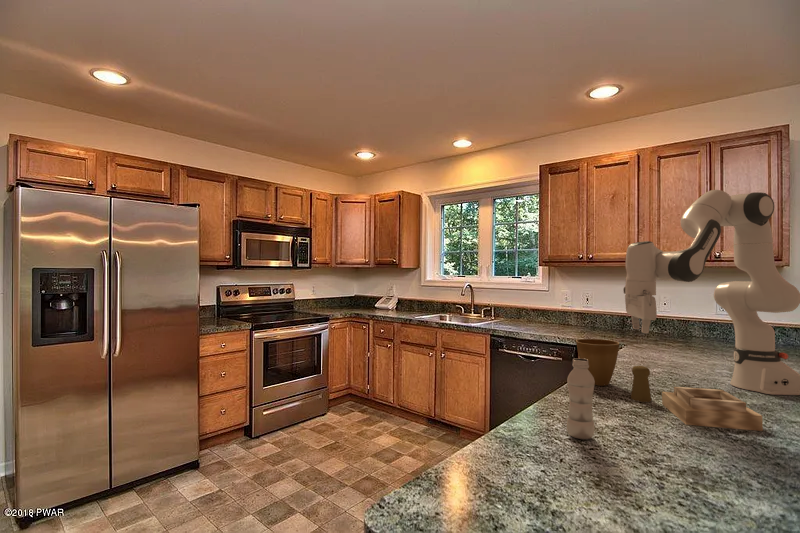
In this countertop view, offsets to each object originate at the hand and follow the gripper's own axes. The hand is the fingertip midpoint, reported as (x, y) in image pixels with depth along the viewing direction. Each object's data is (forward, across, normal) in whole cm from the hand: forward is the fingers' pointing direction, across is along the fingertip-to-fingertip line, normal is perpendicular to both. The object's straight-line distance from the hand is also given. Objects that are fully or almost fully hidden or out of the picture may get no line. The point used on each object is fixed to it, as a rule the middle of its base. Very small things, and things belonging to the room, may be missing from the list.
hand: (640, 330), depth 137 cm
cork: (+23, 0, 0) cm, 23 cm away
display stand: (+23, -13, -14) cm, 30 cm away
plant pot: (+23, +18, +10) cm, 31 cm away
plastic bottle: (+23, -39, +25) cm, 52 cm away
